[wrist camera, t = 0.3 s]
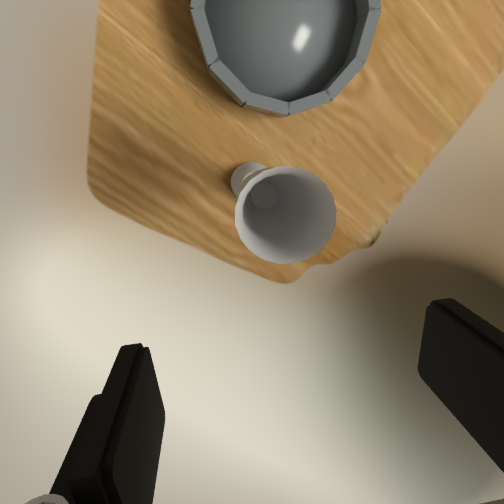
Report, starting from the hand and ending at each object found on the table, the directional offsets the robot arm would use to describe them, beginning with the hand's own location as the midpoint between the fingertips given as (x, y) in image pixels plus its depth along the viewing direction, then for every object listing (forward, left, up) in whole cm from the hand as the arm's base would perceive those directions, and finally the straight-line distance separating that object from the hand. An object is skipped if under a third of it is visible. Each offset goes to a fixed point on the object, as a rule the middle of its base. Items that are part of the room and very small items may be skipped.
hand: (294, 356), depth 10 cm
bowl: (-11, -16, -30) cm, 36 cm away
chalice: (-3, -1, -30) cm, 30 cm away
